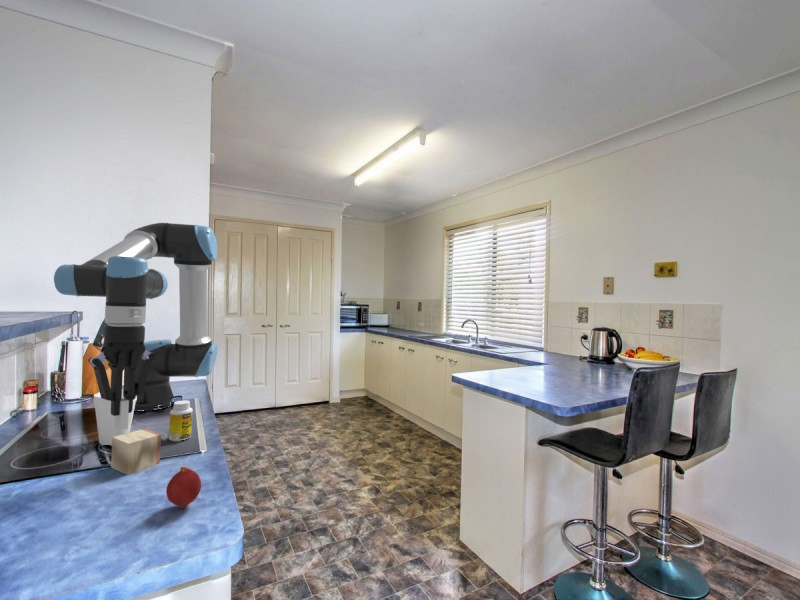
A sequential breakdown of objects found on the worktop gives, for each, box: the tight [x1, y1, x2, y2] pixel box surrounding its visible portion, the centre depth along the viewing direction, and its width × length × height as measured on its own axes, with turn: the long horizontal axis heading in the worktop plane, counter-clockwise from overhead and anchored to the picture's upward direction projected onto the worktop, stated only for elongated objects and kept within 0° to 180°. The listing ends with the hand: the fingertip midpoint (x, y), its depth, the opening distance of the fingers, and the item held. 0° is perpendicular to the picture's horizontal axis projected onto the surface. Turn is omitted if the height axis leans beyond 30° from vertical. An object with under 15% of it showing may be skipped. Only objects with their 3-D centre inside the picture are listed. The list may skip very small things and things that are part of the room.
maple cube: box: [110, 428, 162, 476], centre depth 90 cm, size 7×7×7 cm
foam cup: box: [93, 388, 137, 446], centre depth 103 cm, size 10×9×13 cm
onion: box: [166, 465, 202, 509], centre depth 73 cm, size 6×6×8 cm
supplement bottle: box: [168, 399, 194, 442], centre depth 107 cm, size 6×6×10 cm
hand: (121, 428), depth 87 cm, fingers closed
